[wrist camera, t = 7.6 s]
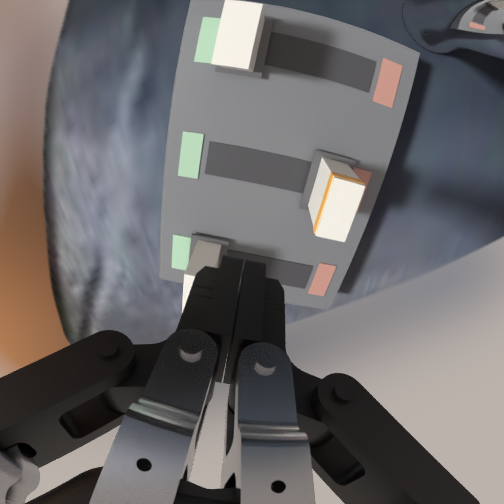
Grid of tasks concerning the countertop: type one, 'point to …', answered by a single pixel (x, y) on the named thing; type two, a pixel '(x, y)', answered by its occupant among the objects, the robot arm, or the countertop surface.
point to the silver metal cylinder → (457, 25)
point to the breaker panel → (278, 143)
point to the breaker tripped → (332, 195)
